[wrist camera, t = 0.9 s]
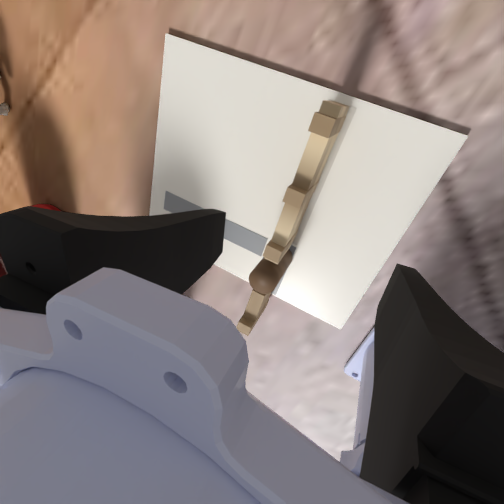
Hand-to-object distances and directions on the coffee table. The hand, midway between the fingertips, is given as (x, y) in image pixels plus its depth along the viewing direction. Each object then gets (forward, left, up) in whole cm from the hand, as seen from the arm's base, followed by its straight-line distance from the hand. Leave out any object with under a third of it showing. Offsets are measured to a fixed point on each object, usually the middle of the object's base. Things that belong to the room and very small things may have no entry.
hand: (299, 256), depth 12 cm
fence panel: (+2, 0, -9) cm, 9 cm away
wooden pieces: (+2, +8, -10) cm, 13 cm away
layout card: (+5, +2, -10) cm, 11 cm away
